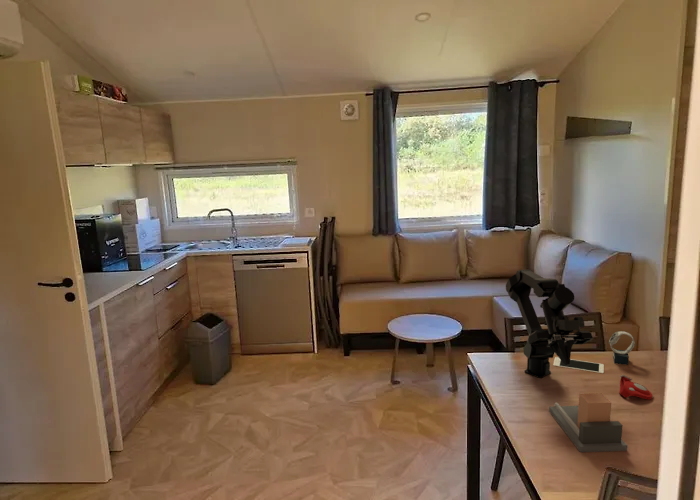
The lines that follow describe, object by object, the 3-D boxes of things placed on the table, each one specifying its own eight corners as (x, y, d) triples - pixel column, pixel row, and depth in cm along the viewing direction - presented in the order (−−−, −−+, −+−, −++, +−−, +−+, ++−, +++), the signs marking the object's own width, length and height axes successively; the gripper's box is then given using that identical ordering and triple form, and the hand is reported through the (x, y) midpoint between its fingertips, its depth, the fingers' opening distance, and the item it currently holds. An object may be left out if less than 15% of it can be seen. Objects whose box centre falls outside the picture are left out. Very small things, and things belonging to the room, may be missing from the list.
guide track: (549, 411, 144) (549, 391, 142) (589, 409, 144) (590, 389, 142) (580, 452, 124) (581, 429, 123) (627, 450, 124) (629, 427, 123)
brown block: (577, 427, 132) (579, 393, 130) (599, 426, 132) (601, 393, 130) (585, 438, 127) (588, 403, 125) (608, 437, 127) (611, 402, 125)
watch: (607, 356, 179) (609, 328, 176) (632, 359, 175) (634, 330, 173) (608, 362, 174) (610, 333, 171) (633, 365, 170) (636, 336, 168)
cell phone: (555, 358, 180) (555, 356, 180) (603, 365, 172) (603, 363, 172) (552, 366, 173) (553, 365, 173) (603, 374, 166) (603, 373, 166)
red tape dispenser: (660, 393, 149) (642, 395, 144) (654, 405, 151) (635, 407, 146) (625, 370, 159) (607, 371, 154) (619, 381, 161) (601, 382, 156)
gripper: (540, 306, 144) (553, 357, 137) (596, 307, 147) (612, 357, 140) (522, 319, 154) (534, 368, 147) (575, 319, 157) (589, 367, 150)
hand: (567, 365), depth 145 cm, fingers closed
